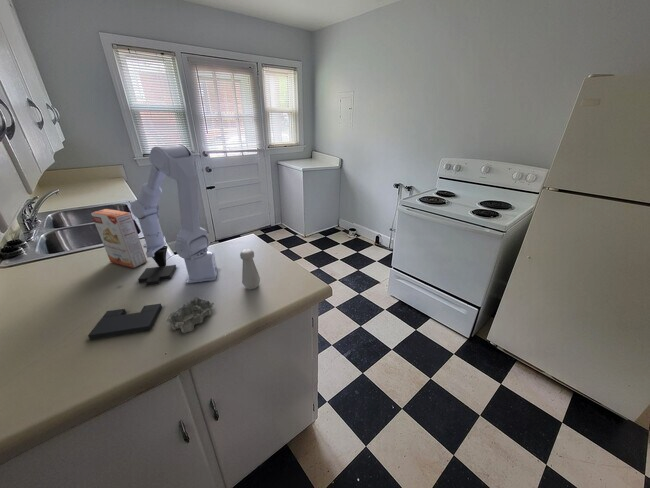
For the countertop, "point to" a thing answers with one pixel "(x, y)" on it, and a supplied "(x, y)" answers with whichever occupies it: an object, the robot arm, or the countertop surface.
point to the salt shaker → (249, 270)
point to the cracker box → (119, 237)
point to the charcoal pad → (125, 322)
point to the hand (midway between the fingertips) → (162, 266)
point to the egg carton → (190, 314)
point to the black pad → (157, 274)
